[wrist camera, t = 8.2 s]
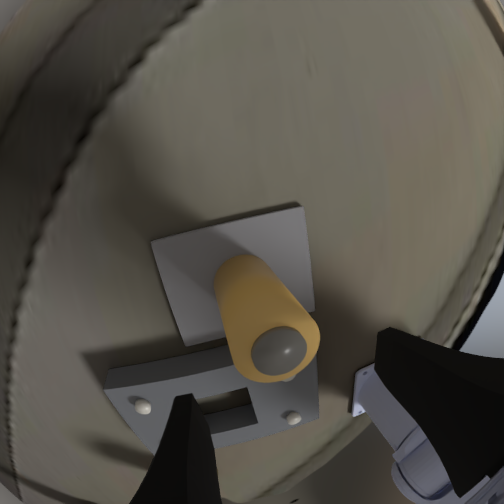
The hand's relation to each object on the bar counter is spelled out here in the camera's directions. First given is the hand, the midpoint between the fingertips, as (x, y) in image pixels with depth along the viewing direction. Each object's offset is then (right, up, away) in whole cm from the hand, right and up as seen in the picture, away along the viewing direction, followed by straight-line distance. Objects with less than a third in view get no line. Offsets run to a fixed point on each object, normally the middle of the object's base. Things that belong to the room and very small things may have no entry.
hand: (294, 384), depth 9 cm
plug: (-2, +3, +9) cm, 10 cm away
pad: (-2, +3, +10) cm, 10 cm away
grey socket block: (-4, -7, +12) cm, 15 cm away
